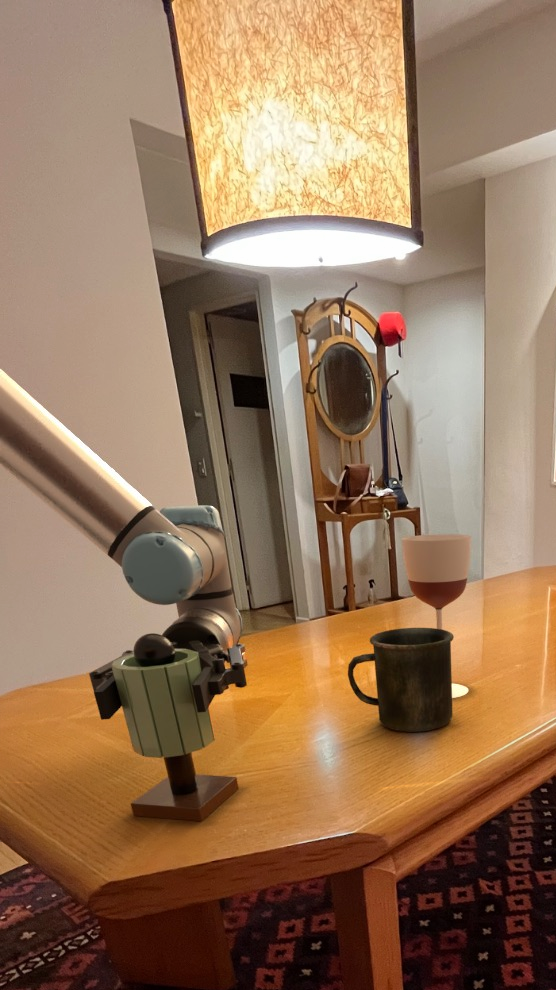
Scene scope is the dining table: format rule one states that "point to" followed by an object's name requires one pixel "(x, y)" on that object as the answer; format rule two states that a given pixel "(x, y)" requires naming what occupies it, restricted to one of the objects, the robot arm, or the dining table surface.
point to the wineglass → (438, 573)
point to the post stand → (178, 762)
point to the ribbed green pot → (163, 706)
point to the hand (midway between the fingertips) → (150, 702)
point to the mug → (410, 678)
